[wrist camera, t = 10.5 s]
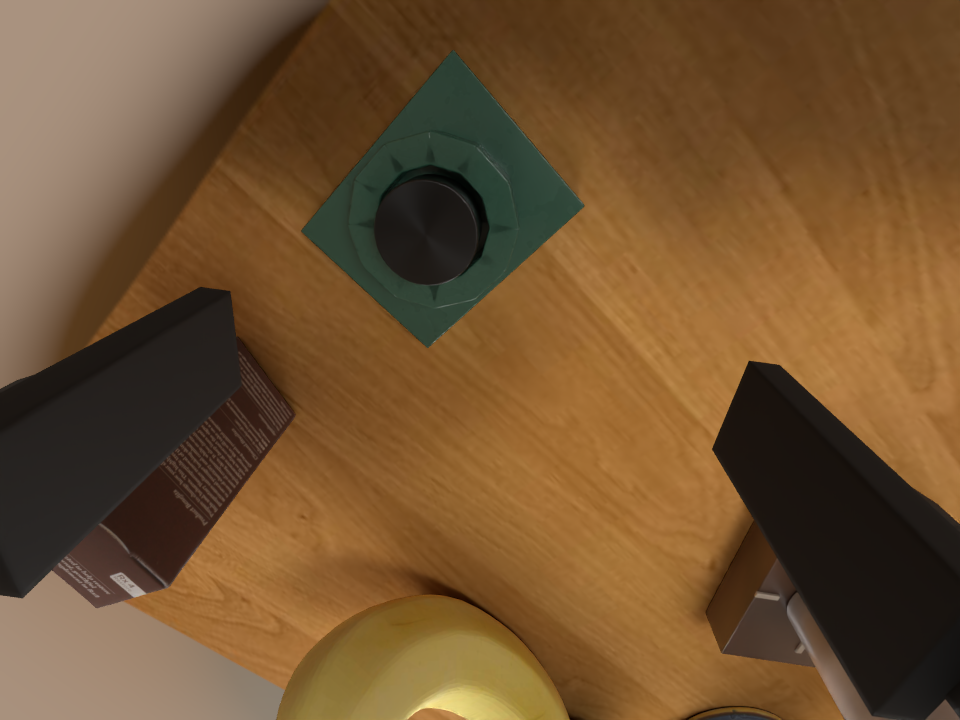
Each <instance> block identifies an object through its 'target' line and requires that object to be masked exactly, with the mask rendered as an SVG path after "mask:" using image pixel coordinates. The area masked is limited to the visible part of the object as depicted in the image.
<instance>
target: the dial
mask: <svg viewBox="0 0 960 720" xmlns="http://www.w3.org/2000/svg"><path fill="white" fill-rule="evenodd" d="M787 616H788V618H789V620H790V622H791V624H792V626H793V627H794V629H795V631H796V633H797V635H798V636H799V638H800V640H801V642H802V644H803V645H804V647H805V649H806V651H807V653H808V654H809V656H810V658H811V660H812V662H813V663H814V665H815V667H816V669H817V671H818V672H819V674H820V676H821V678H822V680H823V681H824V683H825V685H826V687H827V689H828V690H829V692H830V694H831V696H832V698H833V699H834V701H835V703H836V705H837V707H838V708H839V710H840V712H841V714H842V716H843V717H844V719H845V720H896V719H888V718H881V717H874V716H871V714H870V712H869V711H868V709H867V707H866V706H865V704H864V702H863V701H862V699H861V697H860V696H859V694H858V692H857V691H856V689H855V687H854V686H853V684H852V682H851V681H850V679H849V677H848V676H847V674H846V672H845V671H844V669H843V667H842V666H841V664H840V662H839V661H838V659H837V657H836V656H835V654H834V652H833V650H832V649H831V647H830V645H829V644H828V642H827V640H826V639H825V637H824V635H823V634H822V632H821V630H820V629H819V627H818V625H817V624H816V622H815V620H814V619H813V617H812V615H811V614H810V612H809V610H808V609H807V607H806V605H805V604H804V602H803V600H802V599H801V597H800V595H799V594H798V592H796V593H795V594H794V595H793V596H792V598H791V599H790V601H789V603H788V606H787ZM926 720H960V718H959V717H958V715H957V714H956V713H955V711H954V710H953V709H952V707H951V706H950V705H949V703H948V702H947V701H946V699H945V700H944V701H943V702H942V703H941V704H940V705H939V706H938V707H937V708H936V709H935V710H934V711H933V712H932V713H931V714H930V715H929V716H928V717H927V719H926Z"/></svg>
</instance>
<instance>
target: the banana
mask: <svg viewBox="0 0 960 720" xmlns="http://www.w3.org/2000/svg"><path fill="white" fill-rule="evenodd" d="M424 708H438V709H443V710H448V711H451V712H453V713H455V714H458V715H460V716H462V717H464V718H465V719H467V720H570V719H569V716H568V714H567V711H566V708H565V706H564V704H563V701H562V699H561V697H560V695H559V693H558V691H557V689H556V687H555V685H554V684H553V682H552V680H551V679H550V677H549V676H548V674H547V673H546V671H545V669H544V668H543V667H542V665H541V664H540V663H539V661H538V660H537V659H536V657H535V656H534V655H533V653H532V652H531V651H530V650H529V649H528V648H527V647H526V645H525V644H524V643H523V642H522V641H521V640H520V639H519V638H518V637H517V636H516V635H515V634H513V633H512V632H511V631H510V630H509V629H508V628H506V627H505V626H504V625H503V624H501V623H500V622H499V621H497V620H496V619H494V618H493V617H491V616H490V615H488V614H487V613H485V612H483V611H482V610H480V609H479V608H477V607H475V606H473V605H471V604H469V603H466V602H464V601H462V600H459V599H455V598H451V597H448V596H442V595H415V596H409V597H404V598H398V599H395V600H391V601H387V602H384V603H381V604H379V605H376V606H373V607H370V608H368V609H366V610H364V611H362V612H360V613H358V614H356V615H354V616H352V617H351V618H349V619H347V620H346V621H344V622H343V623H341V624H340V625H338V626H337V627H335V628H334V629H333V630H332V631H331V632H329V633H328V634H327V635H326V636H325V637H323V638H322V639H321V640H320V641H319V642H318V643H317V644H316V645H315V646H314V647H313V648H312V649H311V650H310V651H309V652H308V653H307V654H306V656H305V657H304V658H303V659H302V661H301V662H300V664H299V665H298V667H297V668H296V670H295V671H294V673H293V675H292V677H291V679H290V681H289V683H288V685H287V687H286V690H285V692H284V694H283V697H282V701H281V703H280V706H279V710H278V714H277V719H276V720H407V719H408V718H409V717H410V716H411V715H413V714H414V713H415V712H417V711H418V710H420V709H424Z"/></svg>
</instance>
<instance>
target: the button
mask: <svg viewBox="0 0 960 720" xmlns="http://www.w3.org/2000/svg"><path fill="white" fill-rule="evenodd" d="M481 228H482V225H481V216H480V212H479V208H478V206H477V204H476V202H475V200H474V198H473V197H472V195H471V194H470V193H469V191H468V190H467V189H466V188H465V187H464V186H463V185H461V184H460V183H458V182H457V181H455V180H453V179H452V178H449V177H446V176H443V175H439V174H424V175H419V176H416V177H413V178H411V179H409V180H407V181H406V182H404V183H402V184H400V185H398V186H396V187H395V188H394V189H392V190H391V191H390V192H389V193H388V194H387V195H386V196H385V198H384V199H383V200H382V202H381V204H380V205H379V207H378V210H377V213H376V216H375V222H374V236H375V241H376V245H377V248H378V251H379V253H380V255H381V257H382V258H383V260H384V261H385V263H386V264H387V265H388V266H389V268H390V269H391V270H392V271H394V272H395V273H396V274H397V275H399V276H400V277H402V278H403V279H405V280H407V281H410V282H412V283H415V284H420V285H439V284H443V283H447V282H449V281H451V280H453V279H455V278H456V277H458V276H459V275H460V274H462V273H463V272H464V271H465V270H466V269H467V268H468V266H469V265H470V263H471V262H472V260H473V258H474V256H475V253H476V250H477V247H478V243H479V240H480V236H481Z"/></svg>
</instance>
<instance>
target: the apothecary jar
mask: <svg viewBox="0 0 960 720" xmlns="http://www.w3.org/2000/svg"><path fill="white" fill-rule="evenodd" d="M688 720H783V719H781V718H780V717H778V716H776V715H775V714H772V713H770V712H767V711H764V710H760V709H756V708H749V707H726V708H719V709H714V710H711V711H707V712H704V713H701V714H698V715H696V716H694V717H692V718H690V719H688Z"/></svg>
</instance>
